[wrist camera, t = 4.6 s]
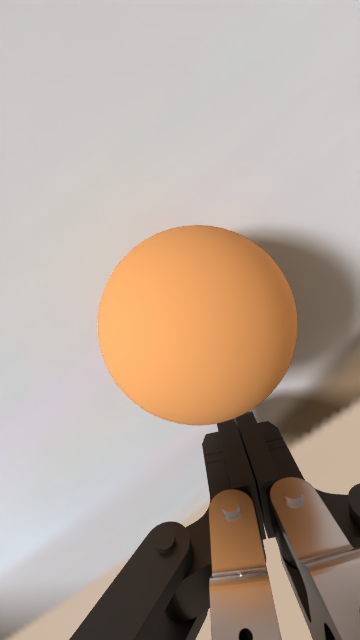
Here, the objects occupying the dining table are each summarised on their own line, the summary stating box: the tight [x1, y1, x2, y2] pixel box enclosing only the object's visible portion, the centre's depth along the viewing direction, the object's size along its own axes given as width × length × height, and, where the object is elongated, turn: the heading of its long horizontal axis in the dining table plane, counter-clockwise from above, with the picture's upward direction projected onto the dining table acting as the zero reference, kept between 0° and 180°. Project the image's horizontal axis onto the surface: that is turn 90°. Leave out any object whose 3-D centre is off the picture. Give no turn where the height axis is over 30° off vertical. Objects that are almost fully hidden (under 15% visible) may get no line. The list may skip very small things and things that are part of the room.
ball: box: [98, 225, 298, 425], centre depth 10 cm, size 6×6×6 cm
